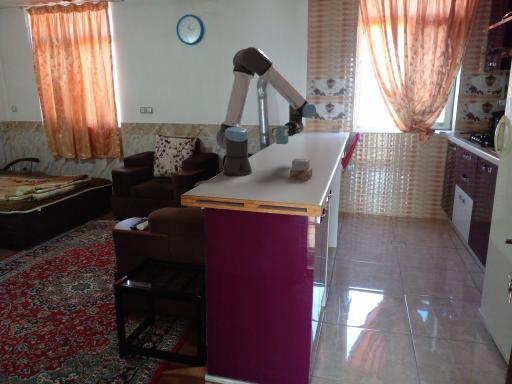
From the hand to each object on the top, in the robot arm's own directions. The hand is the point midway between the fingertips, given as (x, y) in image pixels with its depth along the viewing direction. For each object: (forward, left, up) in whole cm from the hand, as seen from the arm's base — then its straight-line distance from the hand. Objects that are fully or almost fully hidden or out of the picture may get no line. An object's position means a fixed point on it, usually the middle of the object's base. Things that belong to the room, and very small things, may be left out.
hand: (279, 132), depth 199 cm
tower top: (+12, -5, -17) cm, 22 cm away
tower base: (+12, -5, -22) cm, 25 cm away
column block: (0, +5, -6) cm, 8 cm away
